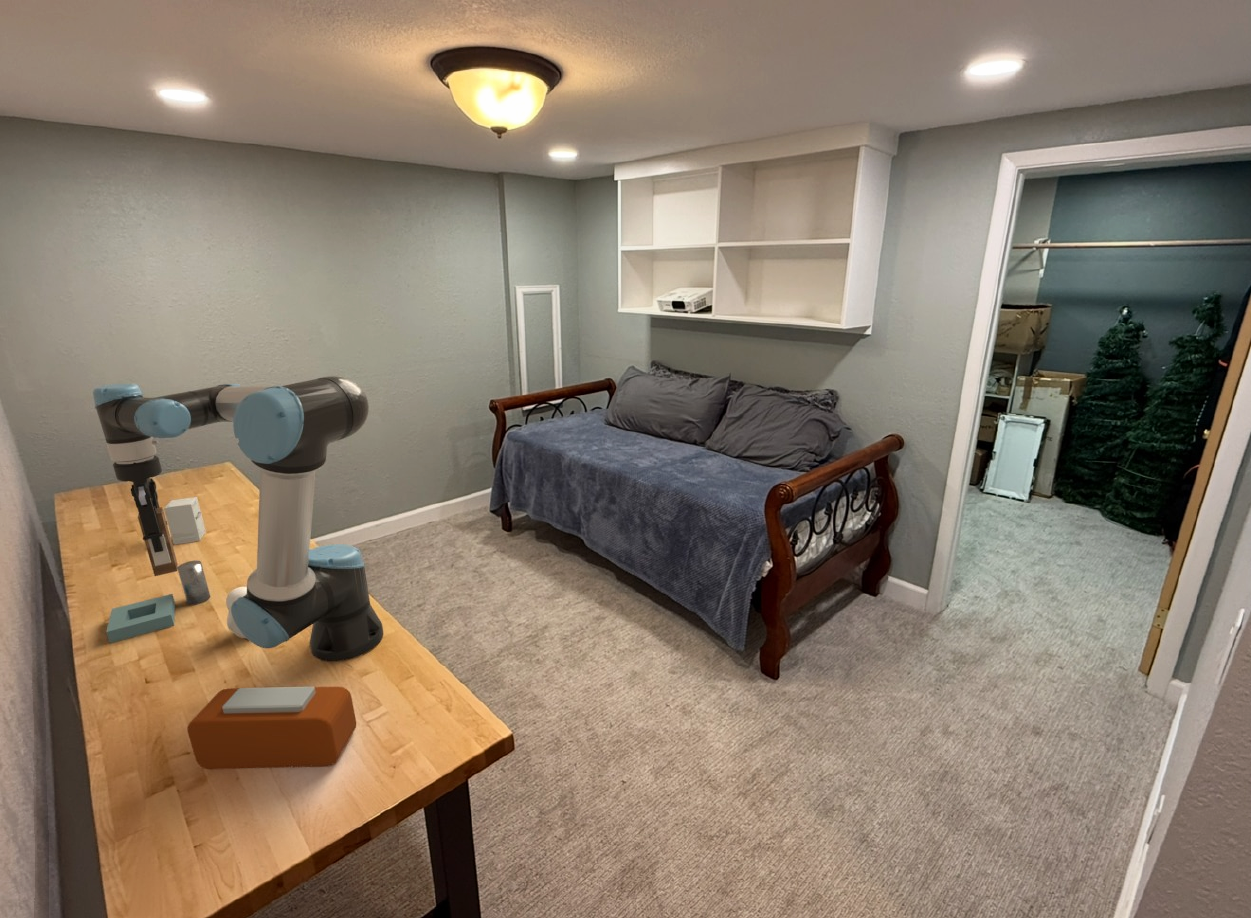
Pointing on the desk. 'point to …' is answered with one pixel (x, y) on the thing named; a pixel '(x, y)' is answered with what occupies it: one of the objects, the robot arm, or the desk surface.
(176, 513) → the supplement box
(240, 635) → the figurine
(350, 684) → the desk surface
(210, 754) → the block with grey pad
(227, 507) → the desk surface
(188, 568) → the round bit
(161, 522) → the square bit
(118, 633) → the socket block
